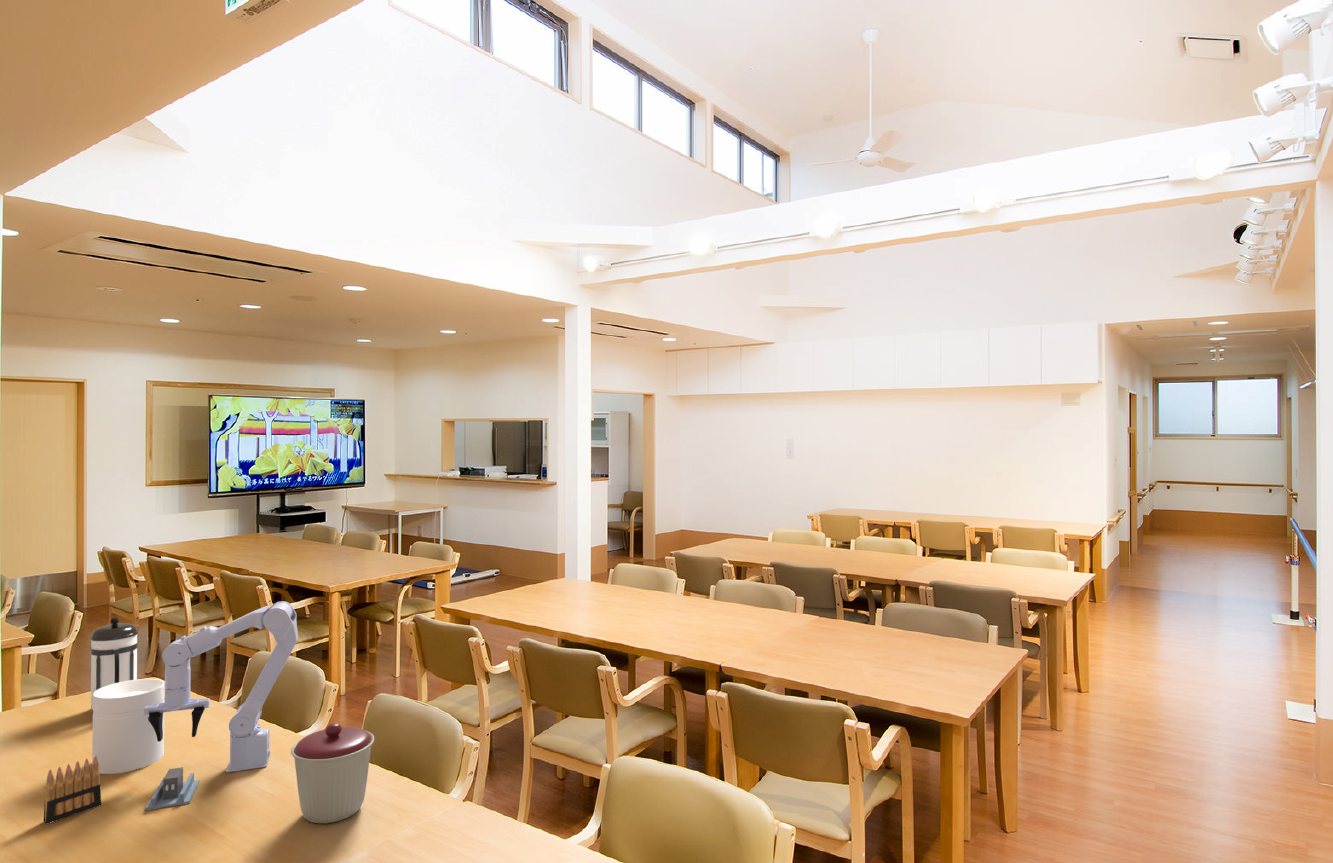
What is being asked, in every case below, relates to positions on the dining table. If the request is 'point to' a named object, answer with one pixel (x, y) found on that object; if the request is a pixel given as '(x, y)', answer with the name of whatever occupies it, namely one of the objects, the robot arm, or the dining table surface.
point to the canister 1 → (126, 726)
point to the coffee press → (113, 654)
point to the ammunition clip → (72, 792)
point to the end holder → (183, 798)
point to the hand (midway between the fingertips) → (177, 738)
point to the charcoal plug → (173, 783)
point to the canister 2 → (332, 772)
